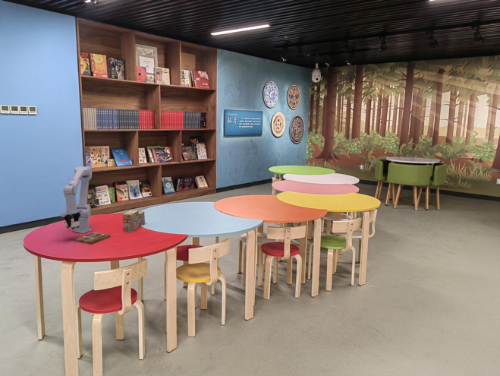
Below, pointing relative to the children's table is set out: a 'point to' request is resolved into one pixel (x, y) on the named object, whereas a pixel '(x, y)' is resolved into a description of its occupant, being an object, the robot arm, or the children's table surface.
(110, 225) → the children's table surface
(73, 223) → the beige box with tabs
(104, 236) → the dock
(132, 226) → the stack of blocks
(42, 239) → the children's table surface
